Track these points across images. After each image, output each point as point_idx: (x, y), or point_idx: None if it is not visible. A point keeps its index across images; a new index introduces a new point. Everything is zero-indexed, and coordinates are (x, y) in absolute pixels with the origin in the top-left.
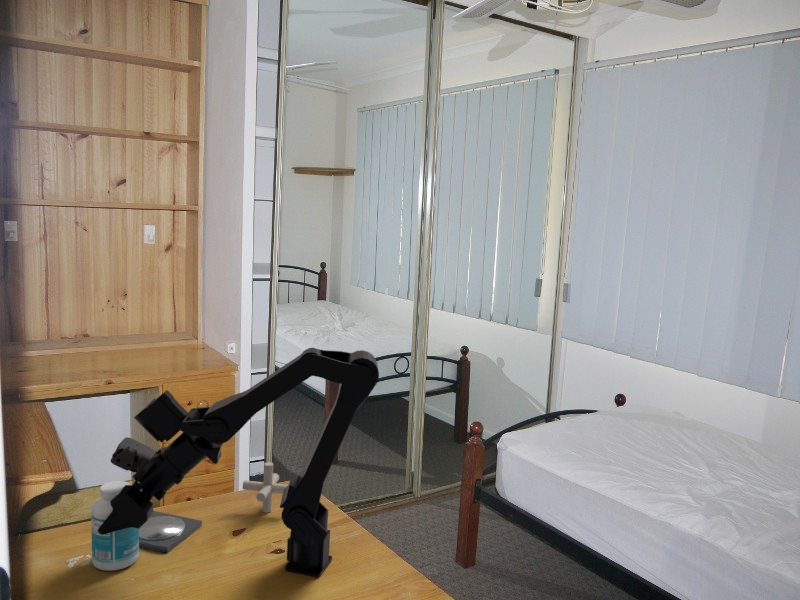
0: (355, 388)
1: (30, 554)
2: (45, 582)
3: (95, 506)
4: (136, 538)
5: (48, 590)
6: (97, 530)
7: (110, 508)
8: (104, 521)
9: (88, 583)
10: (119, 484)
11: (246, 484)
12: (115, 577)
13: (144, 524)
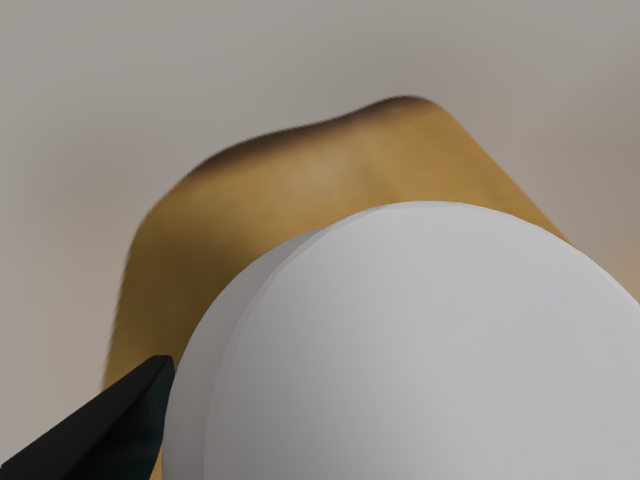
0: None
1: (356, 131)
2: (195, 222)
3: (265, 261)
4: None
5: (145, 247)
6: (150, 357)
7: (188, 438)
8: (52, 428)
9: (173, 362)
10: (575, 476)
11: None
12: None
13: None
